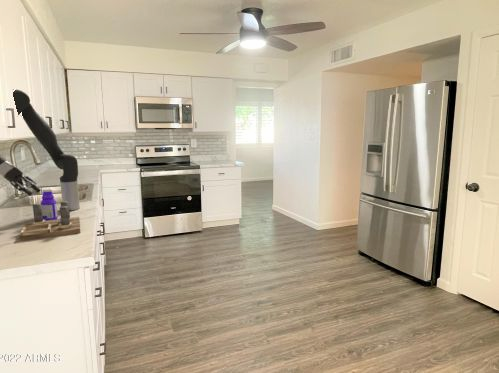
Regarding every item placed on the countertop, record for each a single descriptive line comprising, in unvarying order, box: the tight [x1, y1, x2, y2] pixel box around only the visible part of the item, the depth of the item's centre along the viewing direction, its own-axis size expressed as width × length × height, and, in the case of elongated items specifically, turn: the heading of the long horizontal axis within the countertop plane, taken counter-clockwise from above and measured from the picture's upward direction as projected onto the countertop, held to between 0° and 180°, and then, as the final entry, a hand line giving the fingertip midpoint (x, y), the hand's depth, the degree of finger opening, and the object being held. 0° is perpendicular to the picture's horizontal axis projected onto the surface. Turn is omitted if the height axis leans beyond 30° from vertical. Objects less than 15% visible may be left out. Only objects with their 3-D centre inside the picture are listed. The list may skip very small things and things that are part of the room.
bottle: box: [40, 187, 59, 221], centre depth 180 cm, size 7×6×17 cm
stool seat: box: [19, 201, 81, 241], centre depth 165 cm, size 24×24×12 cm
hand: (35, 192), depth 179 cm, fingers open, 8 cm apart
